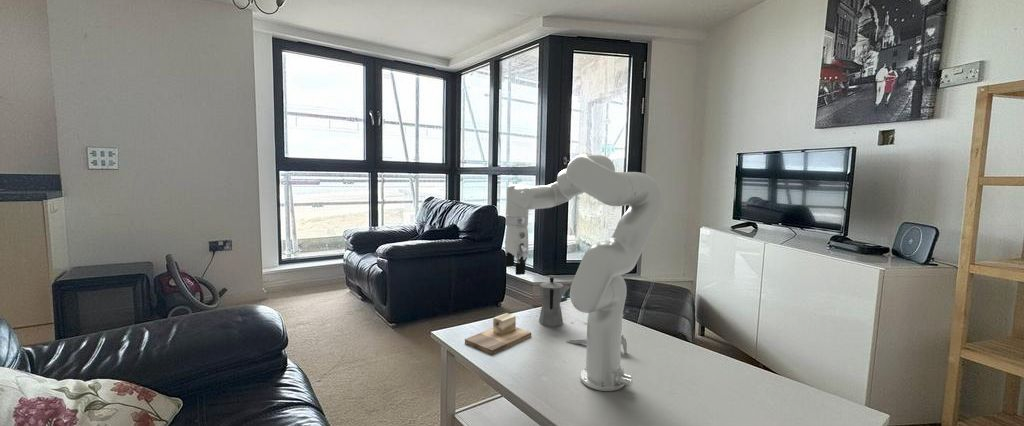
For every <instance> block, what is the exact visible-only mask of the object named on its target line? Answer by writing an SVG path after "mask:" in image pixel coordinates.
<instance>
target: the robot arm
mask: <svg viewBox="0 0 1024 426" xmlns="http://www.w3.org/2000/svg"><path fill="white" fill-rule="evenodd" d="M582 194H586V195H589V196H590V197H592V198H593V199H595V200H597V201H599V202H601V203H603V204H605V205H607V206H609V207H623V206H628V209H626V211H625V213H623V215H622V216H621V217H620V219H619V221H618V222H617V225H616V228H615V230H614V231H613V233H612V235H611V236H610V238H609V239H607V240H604V241H599V242H596V243H594V244H593V245H591V246H590V247H589V248H588V249H587V250H586V251H585V253H584V254H583V257H582V259H581V261H580V263H579V266H578V267H577V271H576V273H575V275H574V277H573V279H572V282H571V285H570V289H569V298H570V301H571V303H572V306H573V307H574V309H576V310H577V311H578V312H580V313H583V314H584V313H585V314H588V315H587V322H586V323H587V326H586V339H587V344H586V353H585V354H586V355H585V356H586V358H585V359H586V360H585V368H584V369H582V370H581V372H580V374H579V378H580V381H581V382H582V383H583V385H584V386H587V387H588V388H590V389H594V390H597V391H603V392H613V391H617V390H620V389H622V388H623V387H624V386H626V387H629V388H632V386H633V376H632V375H630V374H626V373H625V372H624V370H625V369H624V368H625V367H624V366H621V359H622V357H621V356H622V344H621V336H622V335H623V334H622V329H623V316H624V315H623V314H624V308H625V303H626V299H627V293H628V292H627V283H626V281H625V279H624V278H623V276H622V275H624V274H628V273H630V272H631V271H632V270H633V269H635V267H636V265H637V263H638V260H639V258H640V256H641V255H642V253H643V251H644V249H645V246H646V244H647V242H648V239H649V237H650V236H651V233H652V231H653V230H654V228H655V227H656V224H657V222H658V220H659V217H660V216H661V215H660V214H661V212H662V209H663V193H662V189H661V188H660V186H659V184H658V182H657V181H656V180H655V179H654V178H653V177H652V176H651V175H649V174H647V173H644V172H640V171H639V172H638V171H624V172H623V171H621V172H620V171H619V172H617V171H616V167H615V165H614V163H613V161H612V160H611V159H610V158H609V157H607V156H604V155H601V154H579V155H576V156H575V157H573V158H571V160H570V161H569V163H568V164H567V166H566V168H564V169H562V170H561V171H559V172H558V173H557V177H556V181H555V182H553V183H550V184H546V185H527V184H522V183H510V184H509V185H507V188H506V205H505V226H506V231H505V241H504V250H505V252H504V255H505V258H504V267H506V268H509V267H514V266H515V275H516V276H521V275H525V274H526V263H527V259H528V258H527V257H528V255H529V228H528V226H529V211H530V210H539V209H551V208H553V207H556V206H560V205H562V204H564V203H565V204H566V203H567V202H569V201H571V200H572V199H573V198H574V197H576V196H579V195H582ZM515 258H516V263H515Z"/></svg>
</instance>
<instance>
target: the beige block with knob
mask: <svg viewBox="0 0 1024 426" xmlns="http://www.w3.org/2000/svg"><path fill="white" fill-rule="evenodd" d="M492 318H493V319H492V324H493V326H492V328H493V331H494V332H497V333H499V334H502V335H503V334H505V333H507V332H510V331H512V330H515V329H516V327H517V326H516V324H517V323H516V319H517V317H516V315H515V314H511V313H508V312H506V313H503V314H500V315H496V316H495V317H492Z"/></svg>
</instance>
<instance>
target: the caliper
mask: <svg viewBox="0 0 1024 426" xmlns="http://www.w3.org/2000/svg"><path fill="white" fill-rule="evenodd" d="M566 343H570V344H573V345H581V344H582V345H587V338H570V339H567V340H566ZM621 346H622V349H623V353H624V354H626V353H627V351H628V343H627V338H626V337H624V334H622V335H621Z"/></svg>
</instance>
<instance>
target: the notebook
mask: <svg viewBox="0 0 1024 426" xmlns="http://www.w3.org/2000/svg"><path fill="white" fill-rule="evenodd" d="M531 337H532V332H531V331H528V330H525V329H523V328H519V327H517V326H516V329H515V330H512V331H510V332H507V333H505V334H503V335H502V334H499V333H497V332H494V331H493V327H492V328H489V329H487V330H484V331H482V332H480V333H479V332H478V333H476V334H474V335H471V336H469V337H466V338H464V344H466V343H467V344H466V345H468V344H469V345H468V346H470V345H471V346H470V347H473V346H474V347H473V348H475V347H476V348H475V349H477V348H478V350H480V351H481V352H485V353H486V354H489V355H491V356H492V355H495V354H497V353H499V352H501V351H503V350H505V349H508V348H511V347H512V346H514V345H516V344H518V343H521V342H523V341H525V340H527V339H529V338H531Z"/></svg>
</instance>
